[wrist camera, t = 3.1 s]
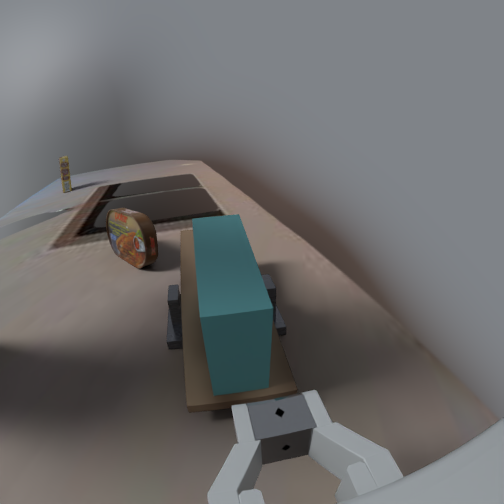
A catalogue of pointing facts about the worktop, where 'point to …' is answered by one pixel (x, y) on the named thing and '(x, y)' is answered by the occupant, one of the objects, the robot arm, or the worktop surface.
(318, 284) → the worktop surface
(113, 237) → the tin
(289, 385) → the beam
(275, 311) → the beam stand
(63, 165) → the candy box
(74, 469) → the worktop surface
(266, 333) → the block
